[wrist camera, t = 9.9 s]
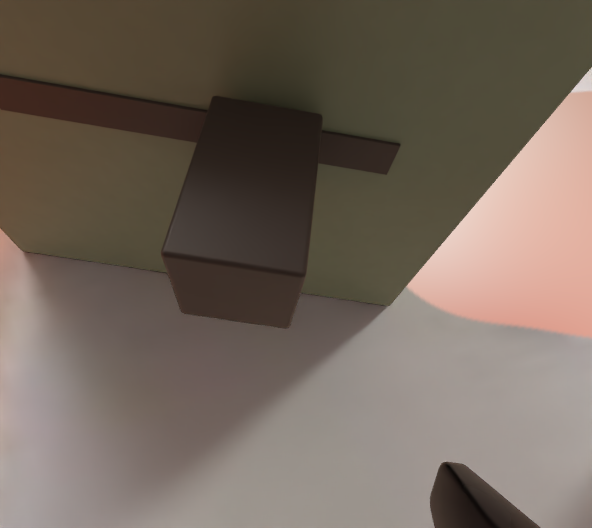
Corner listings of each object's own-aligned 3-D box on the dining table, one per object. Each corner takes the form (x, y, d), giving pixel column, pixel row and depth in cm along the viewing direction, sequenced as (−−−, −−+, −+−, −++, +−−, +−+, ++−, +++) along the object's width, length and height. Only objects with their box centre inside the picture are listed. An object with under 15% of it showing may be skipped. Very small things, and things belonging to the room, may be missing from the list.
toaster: (389, 308, 17) (714, -68, 5) (20, 253, 16) (-561, -341, 4) (386, 147, 22) (551, -230, 10) (104, 98, 21) (-65, -373, 10)
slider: (289, 330, 8) (307, 276, 6) (180, 314, 8) (157, 253, 6) (306, 191, 10) (324, 112, 8) (218, 177, 10) (212, 93, 8)
